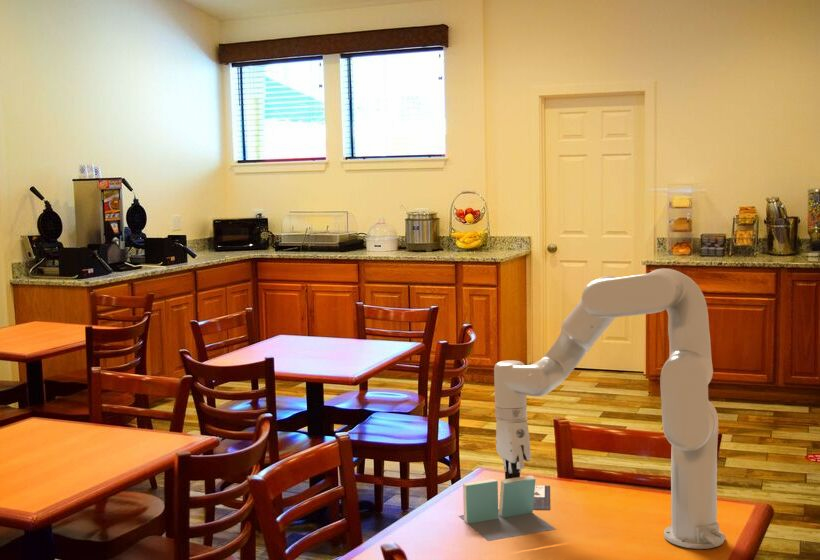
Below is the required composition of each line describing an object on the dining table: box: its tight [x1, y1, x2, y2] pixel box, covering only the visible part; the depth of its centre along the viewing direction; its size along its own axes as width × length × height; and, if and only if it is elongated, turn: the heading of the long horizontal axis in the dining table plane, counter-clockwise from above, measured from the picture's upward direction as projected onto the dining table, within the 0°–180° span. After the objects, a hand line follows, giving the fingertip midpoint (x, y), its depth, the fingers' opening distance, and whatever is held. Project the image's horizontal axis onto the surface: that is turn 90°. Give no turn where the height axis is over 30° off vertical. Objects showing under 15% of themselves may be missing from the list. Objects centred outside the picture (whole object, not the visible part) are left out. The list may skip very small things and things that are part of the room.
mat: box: [458, 508, 556, 542], centre depth 206 cm, size 17×17×1 cm
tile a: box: [498, 474, 536, 518], centre depth 210 cm, size 2×8×9 cm, turn 110°
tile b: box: [462, 478, 499, 524], centre depth 208 cm, size 2×8×9 cm, turn 110°
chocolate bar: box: [533, 484, 551, 511], centre depth 223 cm, size 9×1×18 cm
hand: (512, 487), depth 212 cm, fingers closed
